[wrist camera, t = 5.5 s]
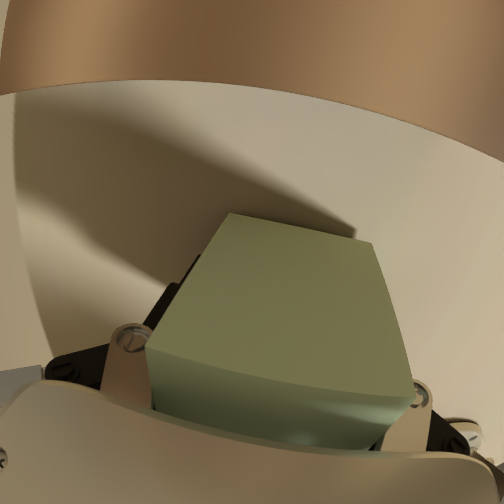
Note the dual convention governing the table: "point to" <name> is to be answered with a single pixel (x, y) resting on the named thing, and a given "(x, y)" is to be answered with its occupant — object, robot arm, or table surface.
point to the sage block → (283, 339)
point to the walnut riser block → (281, 52)
